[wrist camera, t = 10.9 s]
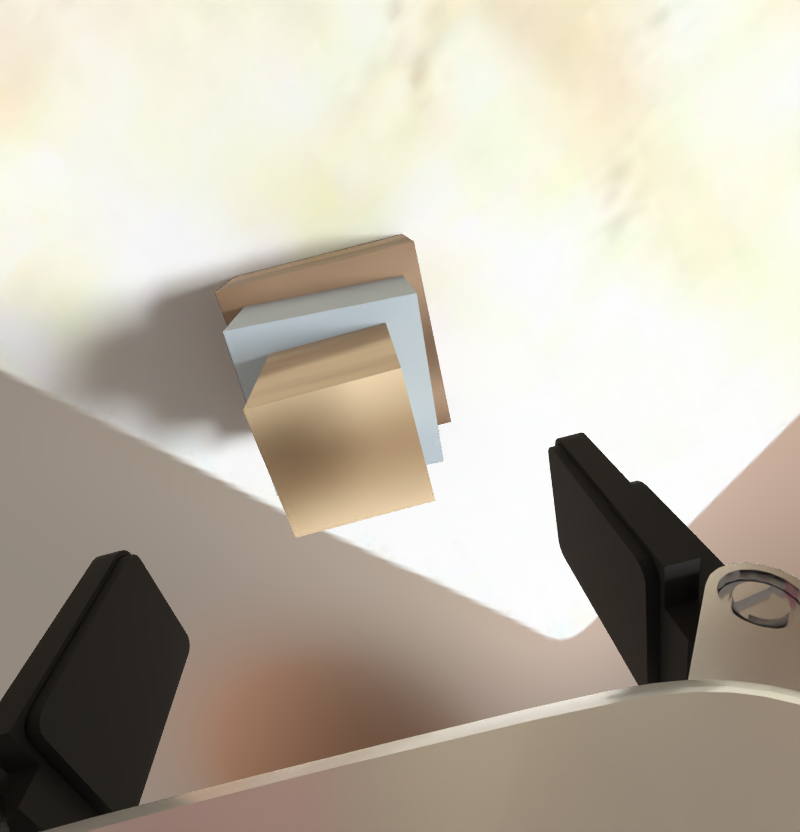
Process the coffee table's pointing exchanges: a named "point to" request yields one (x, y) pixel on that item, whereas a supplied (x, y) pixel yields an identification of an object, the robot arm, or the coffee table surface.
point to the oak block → (338, 431)
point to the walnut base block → (340, 272)
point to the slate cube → (337, 315)
